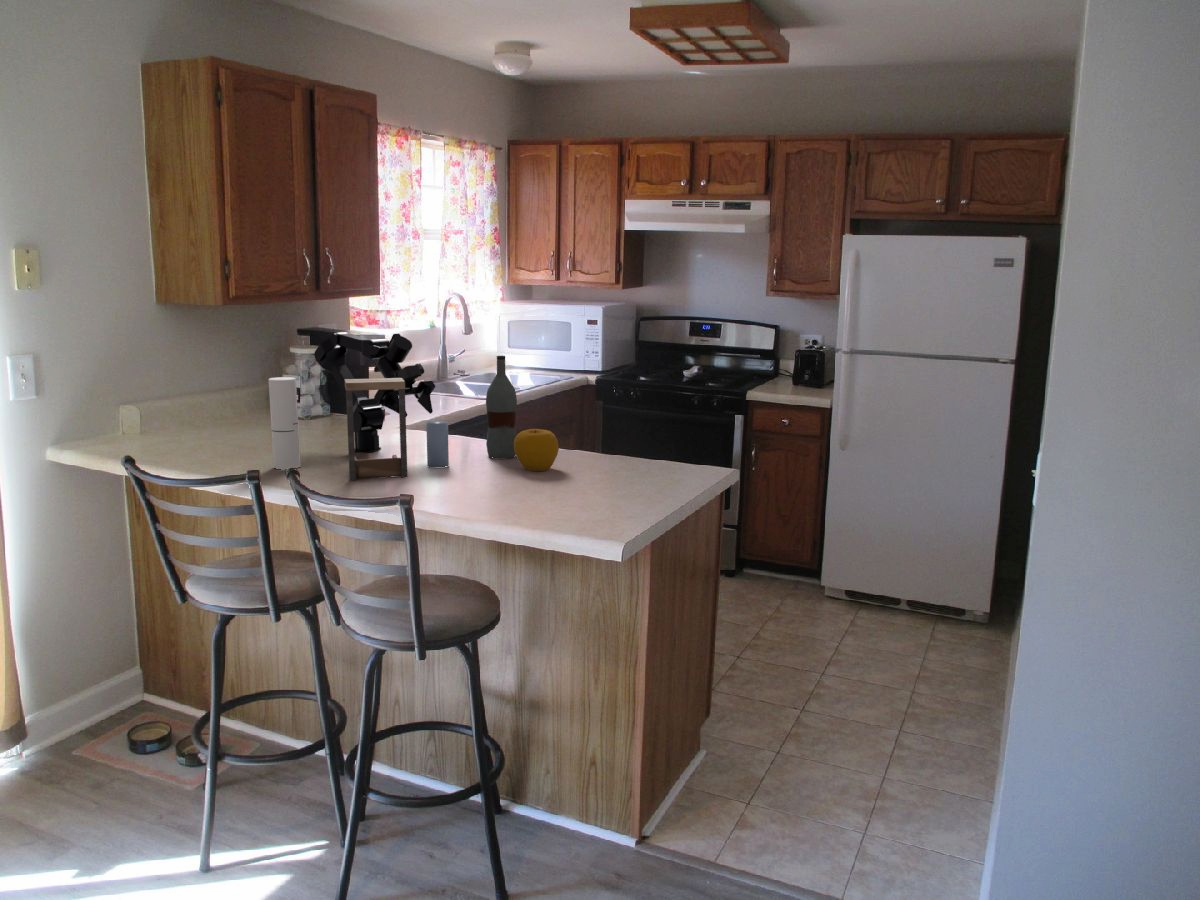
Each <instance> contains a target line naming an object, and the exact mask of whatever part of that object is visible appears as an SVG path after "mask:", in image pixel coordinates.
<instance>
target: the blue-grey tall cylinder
mask: <svg viewBox="0 0 1200 900" xmlns="http://www.w3.org/2000/svg"><path fill="white" fill-rule="evenodd" d="M449 454H450V453H449V422H448V421H445V420H430V421H427V422H426V461H427V462H426V463H427V465H426V467H427V466H429V467H428V468H430V467H445V466H448V465H449V466H450V463H449V461H450V459H449V457H450V456H449ZM449 466H448V467H449ZM445 468H446V467H445Z"/></svg>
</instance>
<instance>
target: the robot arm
mask: <svg viewBox="0 0 1200 900" xmlns="http://www.w3.org/2000/svg"><path fill="white" fill-rule="evenodd" d="M412 348H413V343H412V341H411V340H409V339H408V338H407V337H405V336H403V335H401V334H400V333H392V336H391V338H390V339H389V340H388V338H373V339H371V338H366V337H362V336H360V335H355V334H352V333H349V332H347V331H340V332H337V331H336V332H333V333H332V334H331V335H330V336H329V337H328V338H327V339H325V340H324V341H322V342H321V343H320V344H319V345H318V346H317V348H316V349H315V351H314V353H313V354H314V359H315V361H316V362H317V364H318V365H319V366H320V367H321V368H322V369H323V370H325V371H327V372H329V373H330V374H331V375H332V377H333V378H334V380H335V381H336V383H337V384H338V385H339V387H340V389H341V391H342V392H343V393H344V395H345V396H346V389H345V380H344V379H355V377H354V376H353V374H352V373H351V371H350V369H349V368H348V367H347V365H346V360H347V359H346V358H347V356H346V354H348V352H349V350H353V351H356V352H359V353H361V355H362V356H363V357H365V358H366V359H368V360H378V361H377V362H375V363H374V368H373V372H374V373H381V374H382V376H383V378H402V379H403V380H404V381H405V397H406V396H414V397H415V399H417V402H418V403H419V405H421V407H423V409H425V411H426V412H428V413H429V414H430V415H431V414H433V412H434V411H433V407H432V406H433V405H432V401H431V394H432V393H433V391H434V389H435V388H436V384H435V383H434V381H433V380H429V379H428V380H420V381H419V383H418V384H417V386H413V385H415V383H416V379H417V378H419V377H422V375H424V374H425V369H424V367H423V365H422V364H421V363H416V364H413V365H407V366H404V367H402V366H401V363H404V361H405V359H406V358H407V356H408V355H409V353H410V351H411V350H412ZM352 397H353V422H354V447H355V452H360V453H361V452H362V453H372V452H376V451H379V450H381V449H382V447H380V435H379V434H378V433H379V432H378V431H379V430H382V429H383V425H384V420H385V413H384V411H383V407H384V408H387V409H389V410H390V411H393V412H395V413H397V414H398V415H399V389H385V390H376V393H375V394H374V396H373V398H368V397H367V395H365V393H364V390H352ZM407 416H408V413H407V411H406V418H407Z"/></svg>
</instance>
